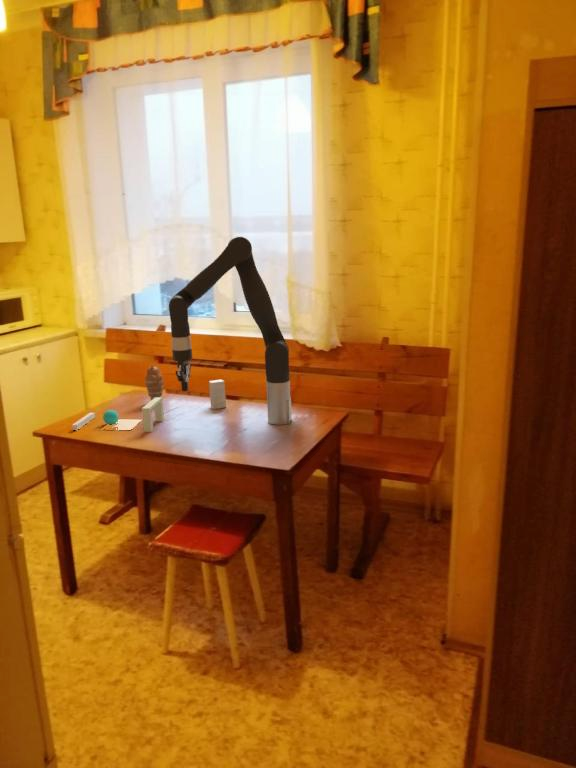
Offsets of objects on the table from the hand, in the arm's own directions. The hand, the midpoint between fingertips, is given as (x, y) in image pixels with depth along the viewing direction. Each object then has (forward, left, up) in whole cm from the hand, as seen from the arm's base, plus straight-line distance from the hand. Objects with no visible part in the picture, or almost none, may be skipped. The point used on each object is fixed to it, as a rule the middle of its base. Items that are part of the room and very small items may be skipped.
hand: (185, 390), depth 236 cm
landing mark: (+28, 0, -15) cm, 32 cm away
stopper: (+44, 0, -15) cm, 47 cm away
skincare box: (-6, -26, -15) cm, 31 cm away
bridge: (+14, 0, -15) cm, 21 cm away
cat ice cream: (+24, -30, -15) cm, 41 cm away
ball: (+33, -1, -12) cm, 35 cm away
